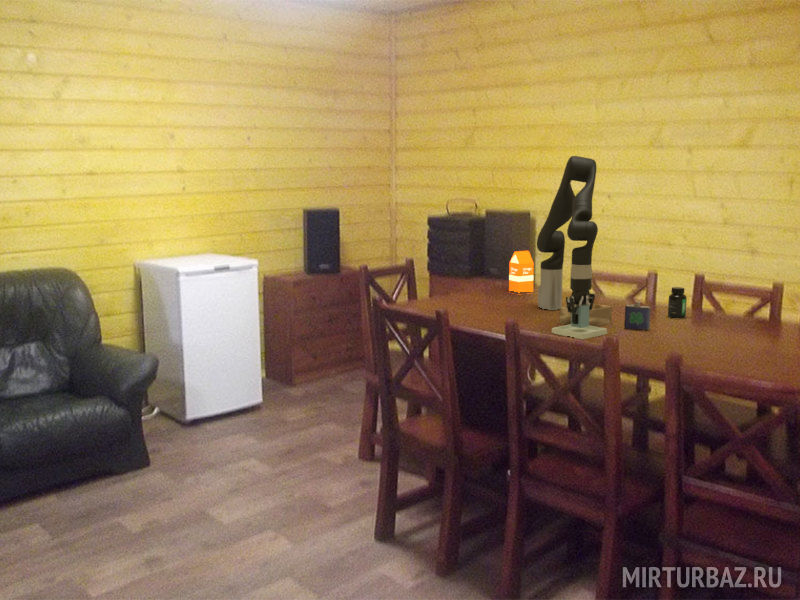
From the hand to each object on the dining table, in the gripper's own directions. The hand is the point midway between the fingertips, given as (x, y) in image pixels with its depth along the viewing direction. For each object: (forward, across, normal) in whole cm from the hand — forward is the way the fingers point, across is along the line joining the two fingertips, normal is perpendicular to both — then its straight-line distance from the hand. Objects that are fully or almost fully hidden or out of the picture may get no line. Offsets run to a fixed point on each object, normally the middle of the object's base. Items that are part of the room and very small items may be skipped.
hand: (579, 322), depth 297 cm
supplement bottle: (+4, -54, +5) cm, 54 cm away
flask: (+4, -22, +9) cm, 24 cm away
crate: (+4, -17, -11) cm, 21 cm away
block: (+1, 0, 0) cm, 1 cm away
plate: (+4, 0, 0) cm, 4 cm away
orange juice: (+4, -53, -79) cm, 95 cm away
